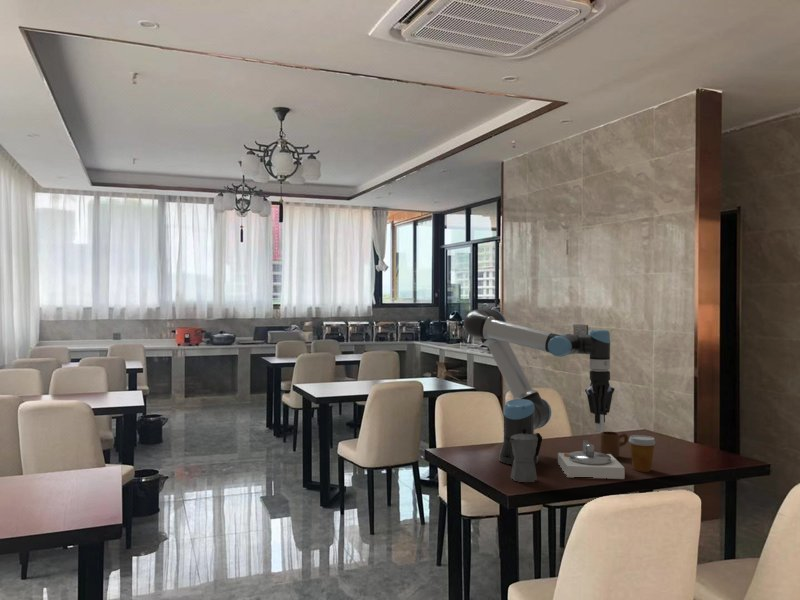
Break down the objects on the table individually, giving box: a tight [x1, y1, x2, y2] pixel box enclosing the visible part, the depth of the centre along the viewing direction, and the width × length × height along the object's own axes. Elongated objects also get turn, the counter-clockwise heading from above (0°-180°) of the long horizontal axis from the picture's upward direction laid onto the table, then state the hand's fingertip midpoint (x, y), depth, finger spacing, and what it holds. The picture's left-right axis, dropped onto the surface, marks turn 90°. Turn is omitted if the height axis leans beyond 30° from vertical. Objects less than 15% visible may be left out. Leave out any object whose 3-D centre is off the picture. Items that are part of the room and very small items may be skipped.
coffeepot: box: [509, 428, 543, 483], centre depth 226 cm, size 15×9×18 cm, turn 125°
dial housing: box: [557, 452, 626, 480], centre depth 238 cm, size 20×20×5 cm
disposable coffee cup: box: [628, 434, 657, 473], centre depth 241 cm, size 10×10×12 cm
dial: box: [568, 439, 611, 465], centre depth 239 cm, size 16×15×5 cm
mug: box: [599, 431, 629, 459], centre depth 261 cm, size 12×8×9 cm, turn 103°
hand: (599, 431), depth 246 cm, fingers closed
